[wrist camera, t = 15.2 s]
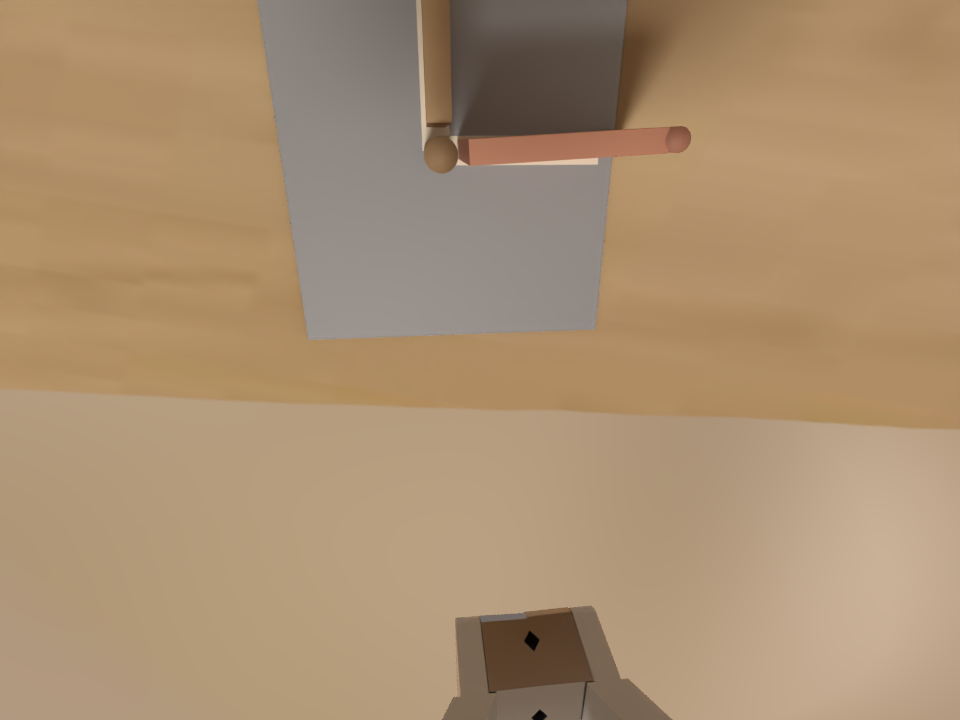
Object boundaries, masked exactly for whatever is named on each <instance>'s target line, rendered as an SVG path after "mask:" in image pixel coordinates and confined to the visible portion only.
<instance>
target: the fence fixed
mask: <svg viewBox="0 0 960 720" xmlns="http://www.w3.org/2000/svg"><path fill="white" fill-rule="evenodd" d="M421 9H422V34H423V59H424V84H425V109H426V127H446V126H448V125H449V124H451V123H452V97H451V49H450V2H449V0H421ZM424 160H425V163H426V164H427V166H428V167H429V168H430V169H431V170H432V171H434V172H436V173H440V174H443V173H447V172H449V171H451V170H452V169H453V168H454V167H455V166H456V164H457V161H458V150H457V147H456V145H455V144H454V143H453V141H451V140H450V139H449V138H446V137H442V136H439V137H434V138H431V139H429V140H428V141H427V142H426V144H425V147H424Z"/></svg>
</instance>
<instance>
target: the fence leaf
mask: <svg viewBox="0 0 960 720" xmlns="http://www.w3.org/2000/svg"><path fill="white" fill-rule="evenodd" d="M690 141H691V134H690V131H689V130H688V129H687V128H686V127H683V126H678V127H660V128H641V129H622V130H604V131H588V132H572V133H555V134H539V135H523V136H506V137H490V138H474V139H457V147H458V159H459V160H460V161H462V162H464V163H466V164H467V165H469V166H480V165H495V164H511V163H526V162H541V161H557V160H572V159H588V158H603V157H618V156H634V155H649V154H665V153H668V152H669V153H680V152H683V151H684V150H686V149H687V147H688V146H689V144H690Z"/></svg>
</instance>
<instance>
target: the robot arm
mask: <svg viewBox="0 0 960 720" xmlns="http://www.w3.org/2000/svg"><path fill="white" fill-rule="evenodd" d="M455 627H456V663H457V687H458V697H453V699H452V701H451V703H450V705H449V707H448V709H447V711H446V713H445V715H444V717H443V719H442V720H672V719H671V718H670V717H669V716H668V715H667V714H666V713H664V712H663V711H662V710H661V709H660V708H659V707H658V706H657V705H656V704H655V703H654V702H653V701H651V700H650V699H649V698H648V697H647V696H646V695H645V694H644V693H643V692H642V691H641V690H640V689H639V688H638V687H636V686H635V685H634V684H633V683H632V682H631V681H630V680H629V679H621V678H620V675H619V673H618V670H617V667H616V664H615V662H614V659H613V656H612V654H611V651H610V648H609V646H608V643H607V641H606V637H605V635H604V632H603V630H602V627H601V624H600V621H599V619H598V616H597V613H596V611H595V609H594V608H593V607H592V606H583V607H573V608H557V609H548V610H538V611H529V612H524V613H518V614H504V615H503V614H502V615H486V616H472V617H462V618H456V620H455Z"/></svg>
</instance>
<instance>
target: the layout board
mask: <svg viewBox="0 0 960 720" xmlns="http://www.w3.org/2000/svg"><path fill="white" fill-rule="evenodd" d="M257 1H258V8H259V14H260V21H261V28H262V34H263V41H264V48H265V54H266V61H267V68H268V74H269V81H270V88H271V94H272V101H273V108H274V114H275V121H276V128H277V134H278V141H279V148H280V154H281V161H282V168H283V174H284V181H285V188H286V194H287V201H288V208H289V214H290V221H291V228H292V234H293V241H294V248H295V254H296V261H297V268H298V274H299V281H300V288H301V294H302V301H303V308H304V314H305V321H306V328H307V334H308V340H318V339H345V338H372V337H399V336H427V335H454V334H481V333H509V332H536V331H563V330H590V329H595V326H596V316H597V306H598V295H599V285H600V275H601V265H602V255H603V244H604V234H605V224H606V214H607V204H608V194H609V183H610V173H611V163H612V157H603V158H588V159H572V160H557V161H541V162H526V163H511V164H495V165H480V166H469V165H467V164H466V163H464V162H462V161H460V160H459V159H458V161H457V164H456V166H455V167H454V168H453V169H452V170H451V171H449V172H447V173H443V174H440V173H436V172H434V171H432V170H431V169H430V168H429V167H428V166H427V164H426V163H425V160H424V147H425V144H426V142H427V141H428V140H429V139H431V138H434V137H439V136H442V137H446V138H449V139H450V140H451V141H453V143H454V144H455V145H456V147H457V139H474V138H490V137H506V136H523V135H539V134H555V133H572V132H588V131H604V130H615V122H616V112H617V102H618V92H619V82H620V71H621V61H622V51H623V41H624V31H625V21H626V10H627V0H449V2H450V49H451V97H452V123H451V124H449V125H448V126H446V127H426V109H425V84H424V59H423V34H422V9H421V0H257ZM457 150H458V147H457Z"/></svg>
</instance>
